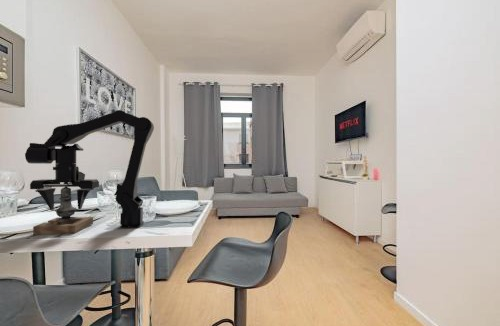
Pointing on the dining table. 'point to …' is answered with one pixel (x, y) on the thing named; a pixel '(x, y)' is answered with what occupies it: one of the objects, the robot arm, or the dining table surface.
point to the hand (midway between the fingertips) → (66, 209)
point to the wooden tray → (63, 226)
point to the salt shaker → (65, 206)
